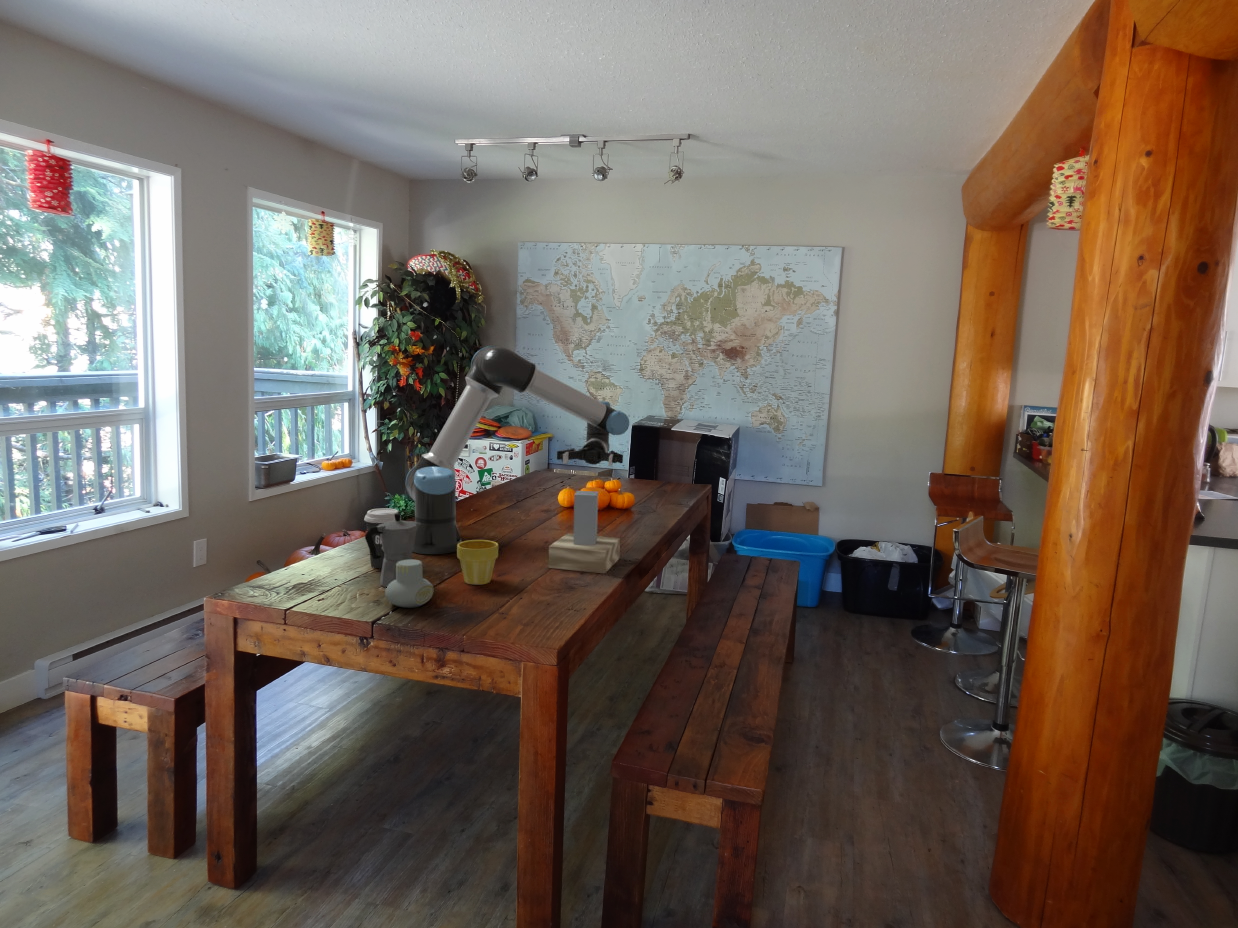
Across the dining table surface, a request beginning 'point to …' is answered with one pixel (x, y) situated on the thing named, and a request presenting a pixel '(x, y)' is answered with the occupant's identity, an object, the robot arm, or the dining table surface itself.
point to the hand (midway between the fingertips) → (587, 460)
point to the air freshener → (409, 585)
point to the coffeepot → (393, 545)
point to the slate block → (585, 517)
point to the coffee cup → (375, 519)
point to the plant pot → (477, 560)
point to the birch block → (584, 554)
